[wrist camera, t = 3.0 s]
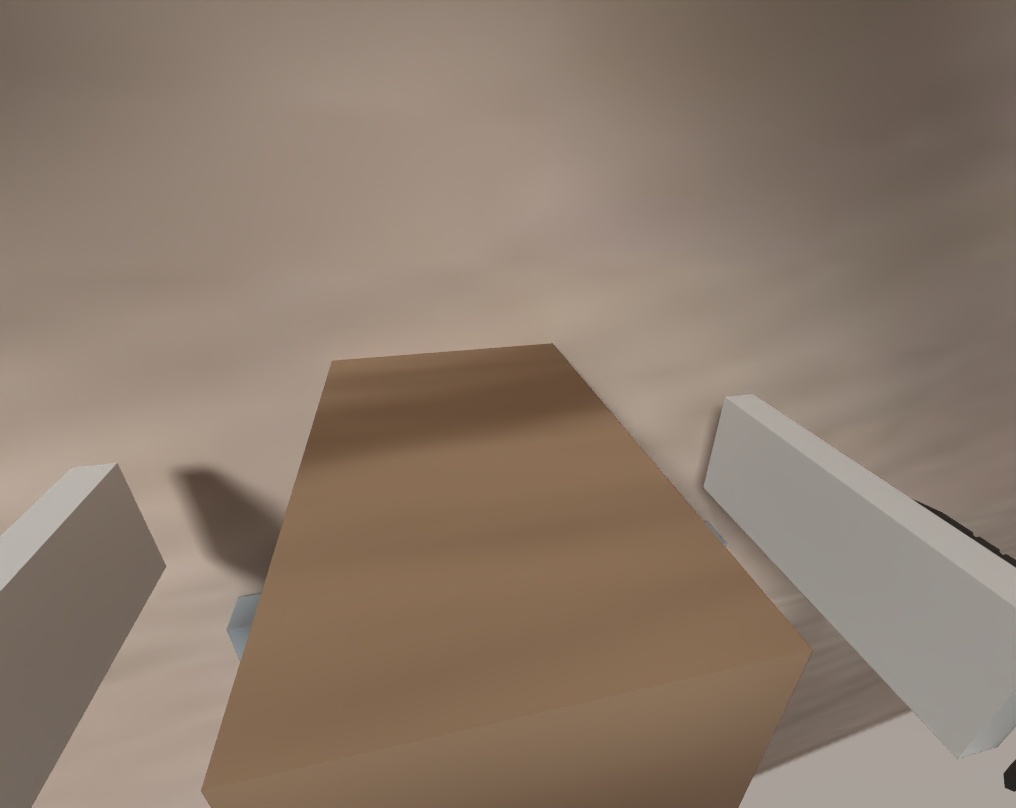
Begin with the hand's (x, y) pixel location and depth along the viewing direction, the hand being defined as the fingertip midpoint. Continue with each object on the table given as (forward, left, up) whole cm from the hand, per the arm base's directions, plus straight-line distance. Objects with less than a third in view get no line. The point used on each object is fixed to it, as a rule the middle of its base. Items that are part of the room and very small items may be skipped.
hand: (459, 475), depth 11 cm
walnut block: (0, 0, -1) cm, 1 cm away
